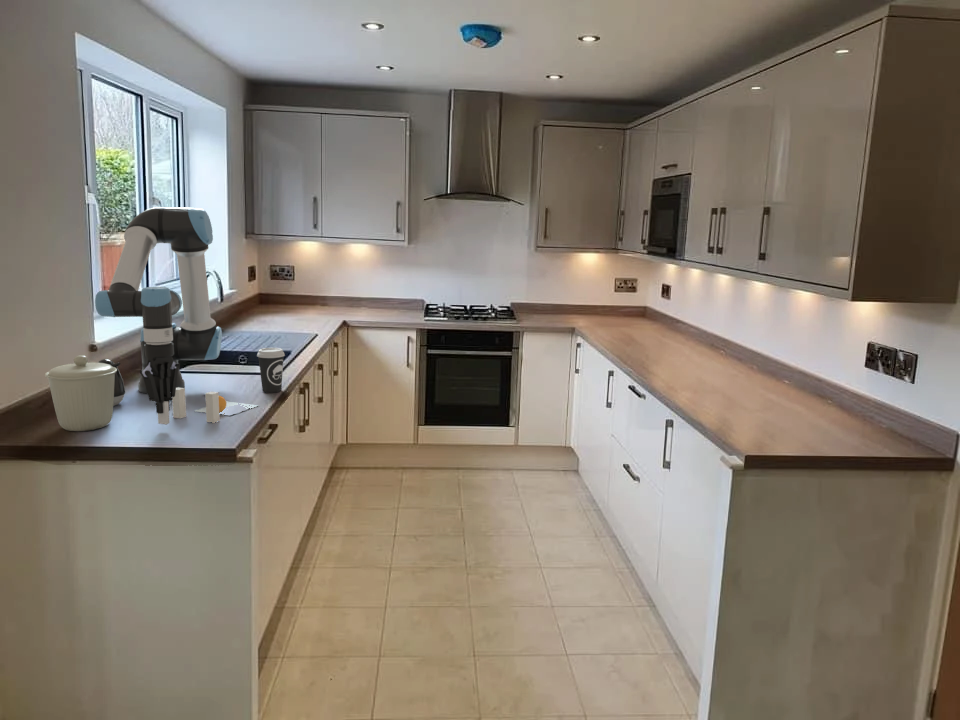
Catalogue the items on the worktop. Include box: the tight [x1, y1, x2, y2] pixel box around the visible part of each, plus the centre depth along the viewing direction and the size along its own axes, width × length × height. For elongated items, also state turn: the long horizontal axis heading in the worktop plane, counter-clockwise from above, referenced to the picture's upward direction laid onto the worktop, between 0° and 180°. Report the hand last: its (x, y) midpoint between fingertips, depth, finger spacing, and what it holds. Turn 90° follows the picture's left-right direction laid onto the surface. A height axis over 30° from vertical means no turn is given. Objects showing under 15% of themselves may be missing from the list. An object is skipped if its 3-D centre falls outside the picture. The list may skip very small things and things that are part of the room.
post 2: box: [204, 391, 221, 424], centre depth 215 cm, size 3×3×9 cm
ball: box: [219, 395, 227, 413], centre depth 226 cm, size 6×6×6 cm
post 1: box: [171, 387, 187, 419], centre depth 219 cm, size 3×3×9 cm
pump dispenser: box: [96, 358, 126, 407], centre depth 231 cm, size 10×10×15 cm
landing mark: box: [194, 400, 260, 416], centre depth 231 cm, size 14×14×1 cm
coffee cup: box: [256, 347, 286, 394], centre depth 254 cm, size 10×10×15 cm
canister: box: [44, 354, 117, 432], centre depth 206 cm, size 18×18×21 cm
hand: (164, 423), depth 205 cm, fingers closed
